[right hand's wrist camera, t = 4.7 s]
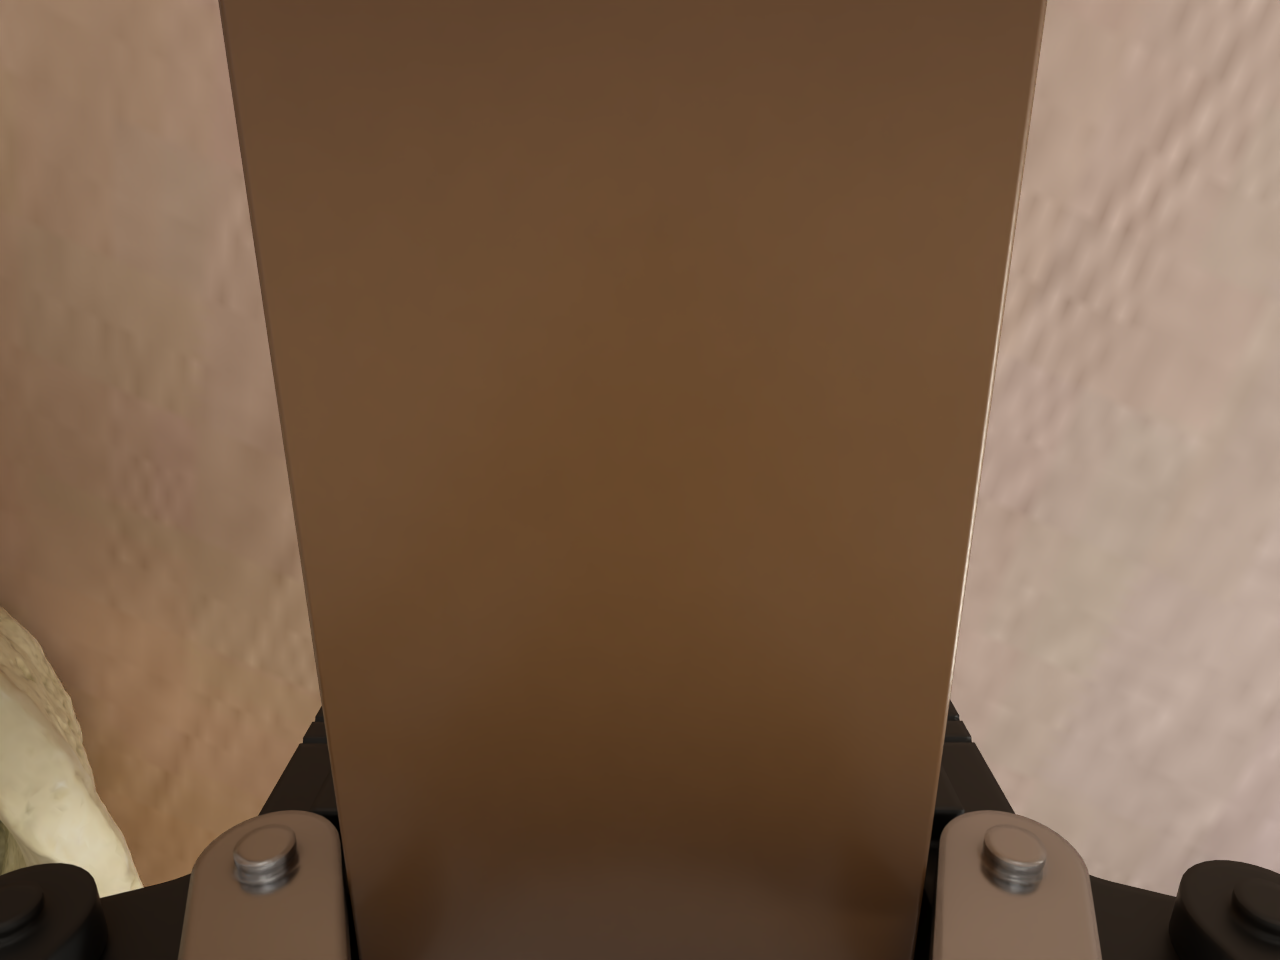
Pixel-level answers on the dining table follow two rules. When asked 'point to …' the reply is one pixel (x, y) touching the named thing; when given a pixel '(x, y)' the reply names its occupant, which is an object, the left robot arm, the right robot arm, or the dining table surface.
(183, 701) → the dining table surface
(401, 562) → the bar
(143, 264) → the dining table surface
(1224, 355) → the dining table surface
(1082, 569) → the dining table surface
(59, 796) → the bowl
